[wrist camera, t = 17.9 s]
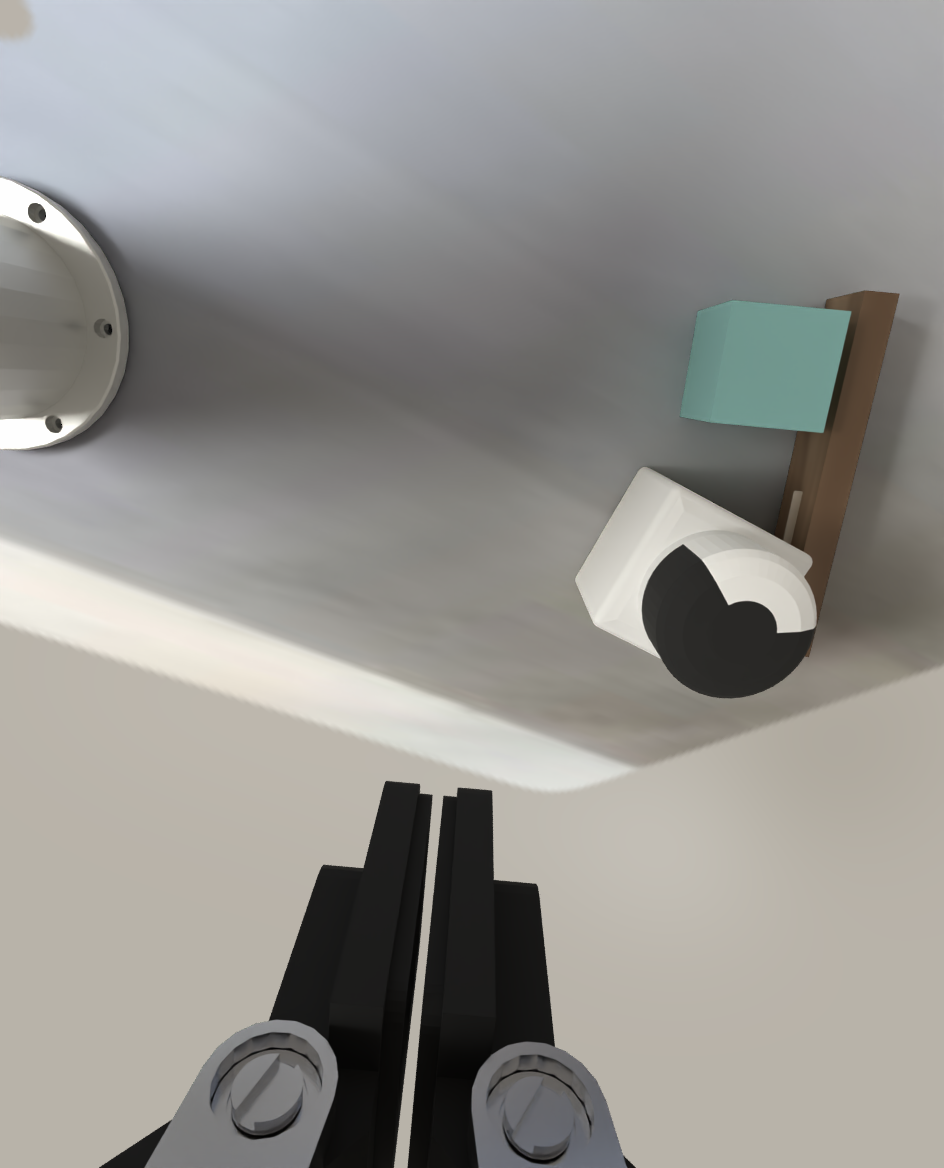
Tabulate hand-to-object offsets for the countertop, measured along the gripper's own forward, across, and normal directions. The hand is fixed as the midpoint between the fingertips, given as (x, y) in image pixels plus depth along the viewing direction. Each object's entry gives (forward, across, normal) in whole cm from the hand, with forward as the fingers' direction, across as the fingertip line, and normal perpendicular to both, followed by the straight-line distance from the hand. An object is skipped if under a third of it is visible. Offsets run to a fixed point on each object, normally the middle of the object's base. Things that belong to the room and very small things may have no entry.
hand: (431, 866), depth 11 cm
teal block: (+27, -13, -9) cm, 31 cm away
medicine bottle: (+27, -10, +1) cm, 29 cm away
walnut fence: (+27, -17, -4) cm, 32 cm away
